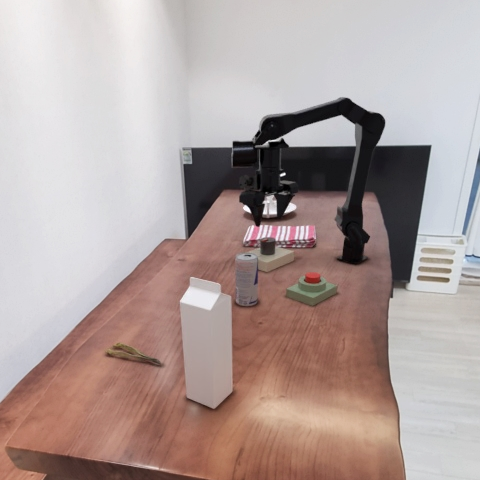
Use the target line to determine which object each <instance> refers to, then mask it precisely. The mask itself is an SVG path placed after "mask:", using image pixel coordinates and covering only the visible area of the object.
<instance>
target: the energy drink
mask: <svg viewBox="0 0 480 480" xmlns="http://www.w3.org/2000/svg"><path fill="white" fill-rule="evenodd" d="M234 262H235V263H234V264H235V265H234V270H235V273H234V274H235V277H234V279H235V303H236V304H237V305H238V306H241V307H252V306H255V305H256V304H257V303H258V298H259V297H258V296H259V295H258V293H259V270H258V258H257V255H256V254H254V253H246V252H241V253H238V254H236V255H235V260H234Z"/></svg>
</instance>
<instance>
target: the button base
mask: <svg viewBox="0 0 480 480" xmlns="http://www.w3.org/2000/svg"><path fill="white" fill-rule="evenodd" d="M337 293H338V285H337V284H334V283H332V282H328V281H327V279H326V278H324V277H323V276H320V283H316V284H310V283H306V282H305V275H302V276H301V277H299V279H298V283H295V284H293V285H291V286H289V287H287V288H286V292H285V297H286V298H290V299H291V300H295V301H298V302H300V303H303V304H306V305H309V306H312V307H313V306H315V305H317V304H319V303H321V302H323V301H325V300H326V299H328V298H330V297H332V296H334V295H337Z"/></svg>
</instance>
